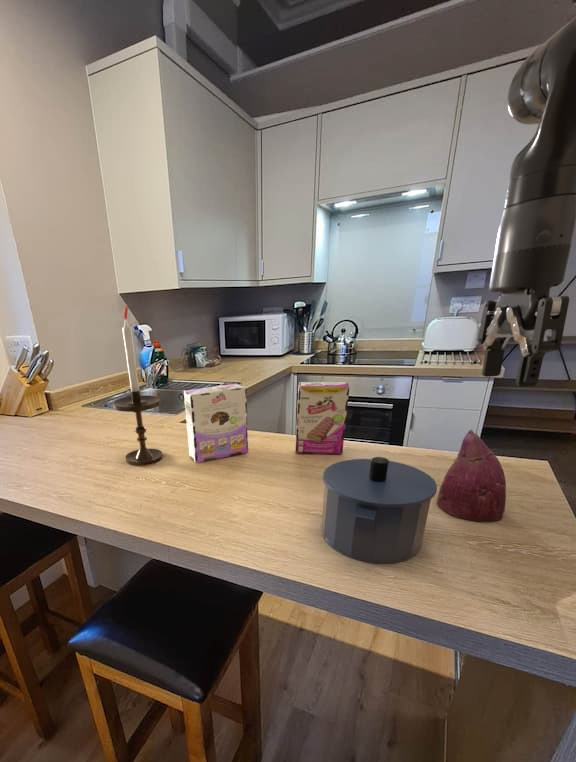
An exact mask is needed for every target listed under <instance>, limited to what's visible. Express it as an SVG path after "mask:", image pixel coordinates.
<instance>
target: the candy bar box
mask: <svg viewBox="0 0 576 762" xmlns="http://www.w3.org/2000/svg"><path fill="white" fill-rule="evenodd" d="M297 391H298V392H297V411H296V427H295V454H311V455H314V454H315V455H343V449H344V442H345V441H344V440H345V433H346V424H347V423H346V422H347V414H348V413H347V412H348V406H349V404H348V403H349V397H350V385H349V383H348V382H347V381H306V382H305V381H300V382H298V389H297Z"/></svg>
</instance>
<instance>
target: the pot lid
mask: <svg viewBox="0 0 576 762" xmlns="http://www.w3.org/2000/svg"><path fill="white" fill-rule="evenodd" d="M322 482H323V484H324V486H325V485H326V487H327V488H328V489H329V490H331V491H332V492H333V493H335V494H337V495H339V496H341V497H343V498H345V499H348V500H351V501H354V502H357V503H361V504H366V505H372V506H379V507H408V506H414V505H418V504H422V503H424V502H427V501H428V500H430V499H431V500H432V498H434V497H435V495H436V494H437V489H438V485H437V483H436V481H435V479H434V478H433V477H432V476H430V475H429V473H426V472H424V471H423V470H421V469H419V468H417V467H414V466H412V465H408V464H405V463H402V462H398V461H394V460H393V461H391V460H389V459H388V458H386V457H384V456H383V457H382V456H374V457H372V458H354V459H347V460H341V461H338V462H335V463H333V464H331V465H329V466H328V467H326V468H325V470H324V471H323V473H322Z"/></svg>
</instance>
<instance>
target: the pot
mask: <svg viewBox="0 0 576 762" xmlns="http://www.w3.org/2000/svg"><path fill="white" fill-rule="evenodd" d="M323 489H324V490H323V499H322V500H323V503H322V515H321V527H320V528H321V535H322V537H323V539H324V541H325V542H326V543H327V545H328V546H329V547H331V548H332V549H333V550H335V551H336V552H338V553H339V554H341V555H343V556H344V557H345V556H346V557H347V558H350V559H353V560H356V561H360V562H364V563H369V564H377V565H378V564H380V565H390V564H398V563H402V562H405V561H409V560H410V559H412V558H414V557H415V556H416V555H417V554H418V553H419V552H420V550H421V548H422V543H423V539H424V533H425V529H426V524H427V519H428V515H429V511H430V505H431V502H432V501H431V500H432V498H431V499H430V500H428V501H427V502H424V503H422V504H418V505H414V506H408V507H379V506H372V505H366V504H361V503H357V502H354V501H351V500H348V499H345V498H343V497H341V496H339V495H337V494H335V493H333V492H332V491H331V490H329V489H328V488H327V487H326V485H325V484H324V488H323Z"/></svg>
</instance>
